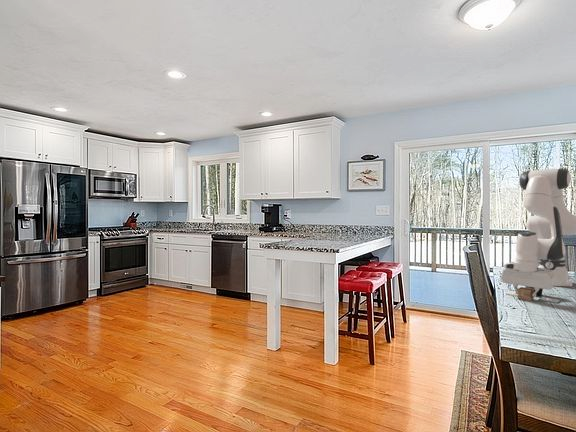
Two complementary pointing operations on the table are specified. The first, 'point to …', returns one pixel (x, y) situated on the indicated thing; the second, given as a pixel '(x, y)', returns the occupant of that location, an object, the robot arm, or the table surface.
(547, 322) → the table surface
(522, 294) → the letter cube
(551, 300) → the tile
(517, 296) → the tile
